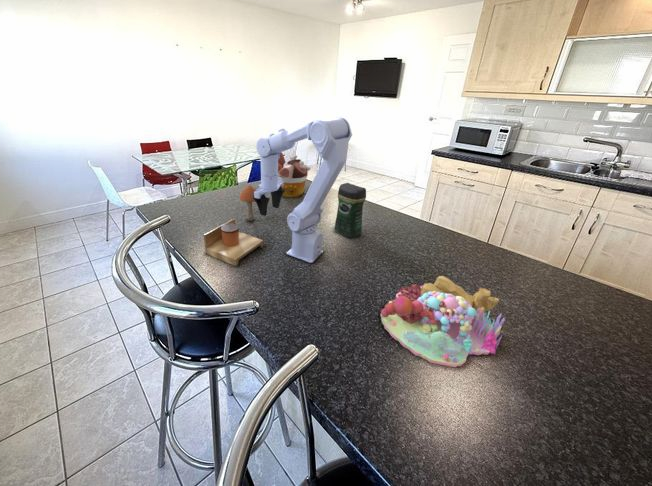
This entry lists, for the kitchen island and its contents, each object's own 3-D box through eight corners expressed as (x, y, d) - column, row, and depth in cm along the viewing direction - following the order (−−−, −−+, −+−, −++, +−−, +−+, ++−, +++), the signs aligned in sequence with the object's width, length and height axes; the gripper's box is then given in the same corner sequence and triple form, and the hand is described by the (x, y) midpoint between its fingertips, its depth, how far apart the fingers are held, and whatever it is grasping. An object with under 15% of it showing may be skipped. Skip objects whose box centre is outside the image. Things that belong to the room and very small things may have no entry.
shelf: (263, 246, 100) (263, 228, 97) (235, 266, 89) (234, 246, 86) (234, 235, 106) (233, 218, 103) (205, 253, 95) (203, 234, 92)
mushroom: (250, 227, 112) (249, 190, 106) (236, 221, 117) (234, 185, 110) (264, 219, 118) (264, 184, 112) (250, 214, 122) (248, 180, 116)
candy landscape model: (406, 278, 85) (412, 251, 81) (503, 318, 72) (516, 287, 68) (369, 329, 67) (374, 298, 63) (488, 395, 54) (505, 360, 50)
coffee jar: (364, 233, 109) (371, 186, 102) (351, 240, 105) (357, 191, 97) (343, 224, 116) (349, 179, 108) (330, 230, 111) (335, 183, 103)
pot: (230, 236, 101) (229, 221, 98) (243, 241, 98) (242, 226, 96) (218, 243, 96) (217, 228, 94) (231, 248, 93) (230, 233, 91)
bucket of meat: (315, 193, 146) (318, 153, 138) (295, 203, 134) (297, 160, 126) (284, 184, 157) (285, 147, 149) (263, 192, 146) (263, 153, 137)
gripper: (272, 167, 105) (272, 201, 111) (246, 177, 94) (247, 215, 100) (288, 170, 102) (287, 206, 108) (263, 181, 91) (264, 220, 96)
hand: (269, 211), depth 103 cm, fingers open, 7 cm apart
